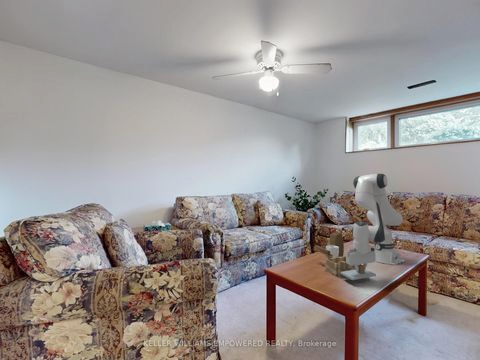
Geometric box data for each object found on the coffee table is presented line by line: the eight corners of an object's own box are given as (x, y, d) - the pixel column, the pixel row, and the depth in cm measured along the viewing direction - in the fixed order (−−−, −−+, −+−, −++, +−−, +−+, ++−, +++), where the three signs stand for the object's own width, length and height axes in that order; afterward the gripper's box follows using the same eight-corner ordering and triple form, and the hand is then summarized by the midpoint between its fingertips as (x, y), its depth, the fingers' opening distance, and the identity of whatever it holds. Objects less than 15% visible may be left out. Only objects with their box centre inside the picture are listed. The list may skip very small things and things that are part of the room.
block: (336, 260, 180) (336, 234, 180) (328, 258, 186) (328, 232, 186) (345, 258, 186) (345, 233, 185) (336, 255, 192) (337, 231, 192)
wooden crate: (344, 266, 168) (344, 252, 168) (359, 273, 156) (359, 258, 156) (323, 269, 163) (323, 254, 163) (337, 277, 150) (337, 261, 150)
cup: (332, 265, 170) (332, 249, 170) (323, 261, 179) (323, 245, 178) (341, 263, 174) (341, 247, 174) (332, 259, 182) (332, 244, 182)
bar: (316, 249, 178) (316, 245, 178) (330, 255, 164) (330, 251, 164) (314, 249, 177) (314, 245, 177) (327, 255, 163) (327, 251, 163)
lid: (363, 270, 153) (363, 261, 153) (375, 275, 144) (375, 266, 144) (340, 273, 147) (340, 264, 147) (352, 280, 138) (352, 270, 138)
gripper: (351, 251, 140) (351, 274, 140) (377, 248, 146) (377, 270, 146) (343, 248, 146) (343, 270, 146) (369, 245, 152) (369, 266, 152)
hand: (360, 270), depth 146 cm, fingers closed on lid, 3 cm apart
